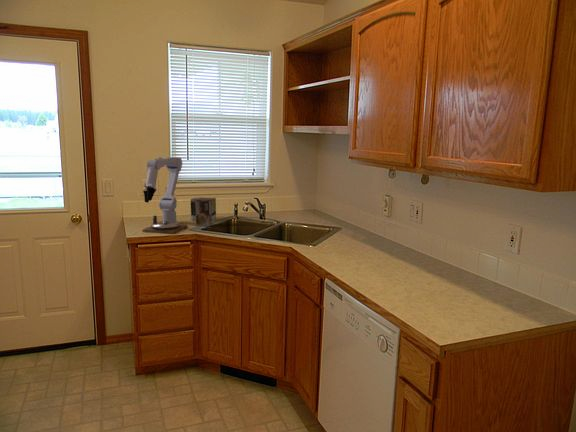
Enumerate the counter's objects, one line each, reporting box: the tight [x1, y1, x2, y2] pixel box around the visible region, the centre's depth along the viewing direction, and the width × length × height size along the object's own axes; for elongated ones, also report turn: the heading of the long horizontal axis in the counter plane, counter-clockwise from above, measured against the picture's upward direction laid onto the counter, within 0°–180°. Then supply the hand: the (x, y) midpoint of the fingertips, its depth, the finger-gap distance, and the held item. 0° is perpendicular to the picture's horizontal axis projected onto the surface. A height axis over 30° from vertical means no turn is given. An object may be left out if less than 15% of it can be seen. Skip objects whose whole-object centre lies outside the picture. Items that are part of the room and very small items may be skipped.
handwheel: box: [150, 215, 181, 229], centre depth 276 cm, size 17×17×6 cm
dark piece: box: [190, 196, 217, 222], centre depth 309 cm, size 15×10×15 cm, turn 82°
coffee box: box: [195, 200, 213, 227], centre depth 290 cm, size 9×6×16 cm
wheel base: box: [142, 224, 188, 235], centre depth 277 cm, size 19×20×2 cm
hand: (147, 201), depth 268 cm, fingers open, 7 cm apart
